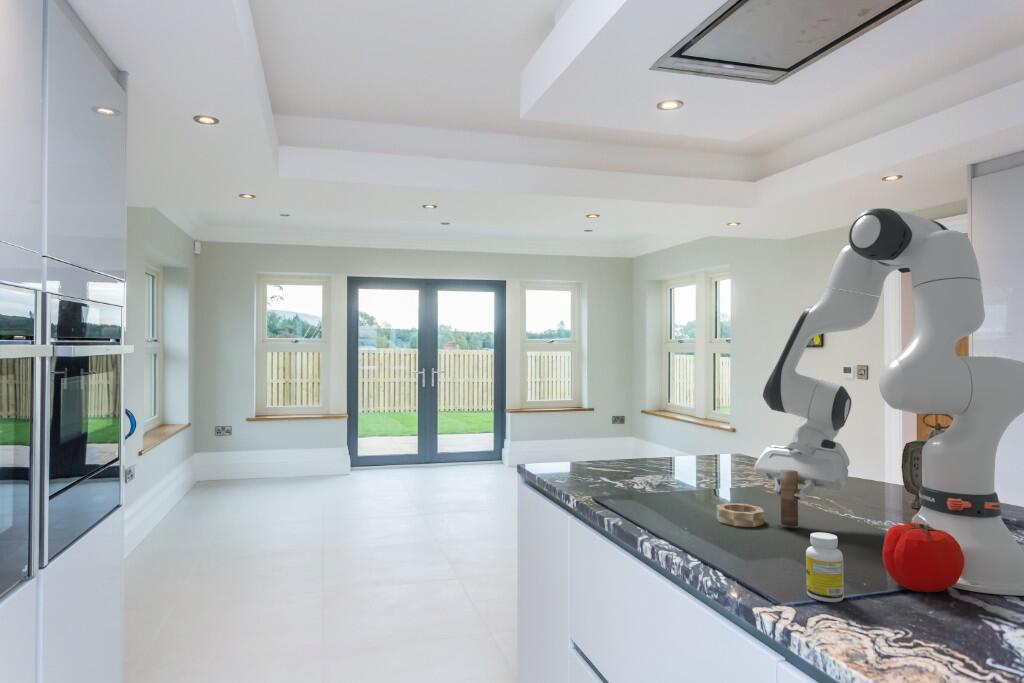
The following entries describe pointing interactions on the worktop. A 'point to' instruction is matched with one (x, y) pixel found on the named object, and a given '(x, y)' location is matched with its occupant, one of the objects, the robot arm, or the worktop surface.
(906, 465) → the tabletop clock
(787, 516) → the brown wooden cylinder
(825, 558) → the supplement bottle
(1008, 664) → the worktop surface
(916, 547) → the tomato
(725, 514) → the wooden octagonal ring
